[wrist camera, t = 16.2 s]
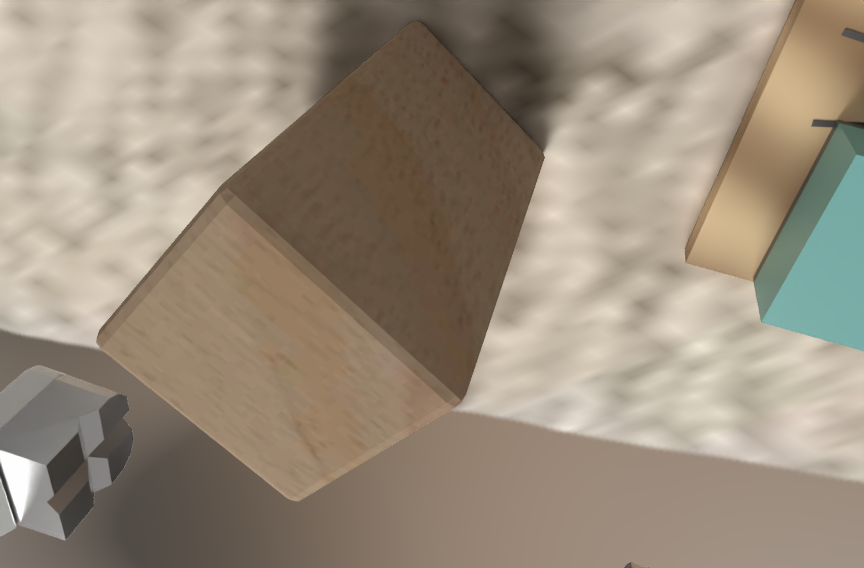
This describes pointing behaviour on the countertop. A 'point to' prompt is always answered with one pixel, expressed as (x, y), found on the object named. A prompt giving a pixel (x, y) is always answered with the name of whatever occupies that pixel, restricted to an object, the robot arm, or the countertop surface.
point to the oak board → (782, 134)
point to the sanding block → (821, 248)
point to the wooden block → (339, 272)
